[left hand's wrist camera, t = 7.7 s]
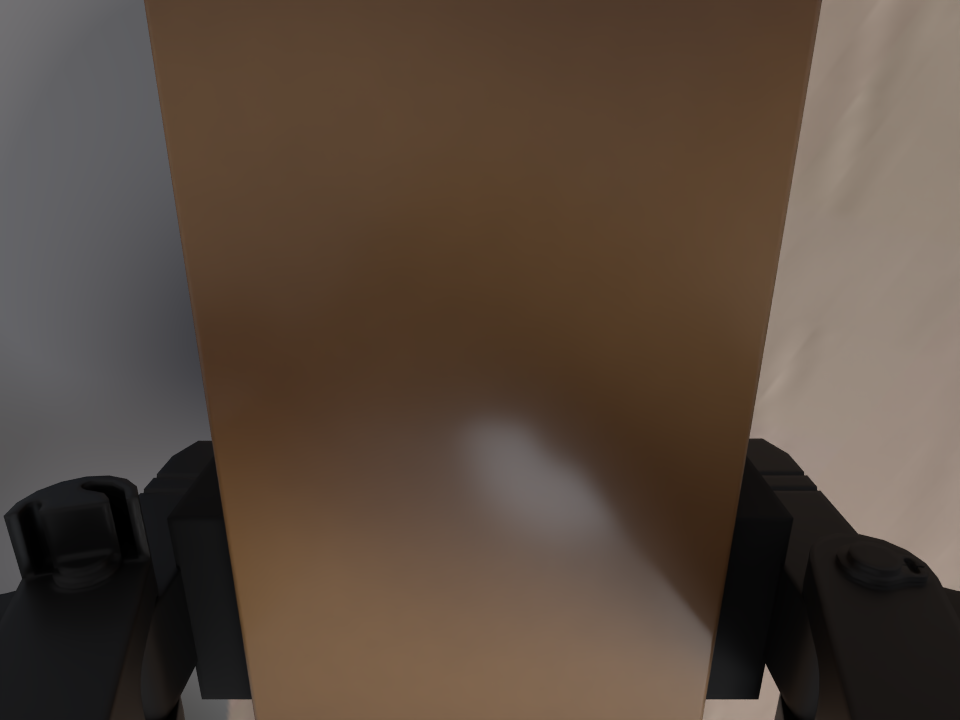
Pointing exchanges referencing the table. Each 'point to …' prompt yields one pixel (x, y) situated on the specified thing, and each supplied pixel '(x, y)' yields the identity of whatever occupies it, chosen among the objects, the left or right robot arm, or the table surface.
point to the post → (480, 335)
